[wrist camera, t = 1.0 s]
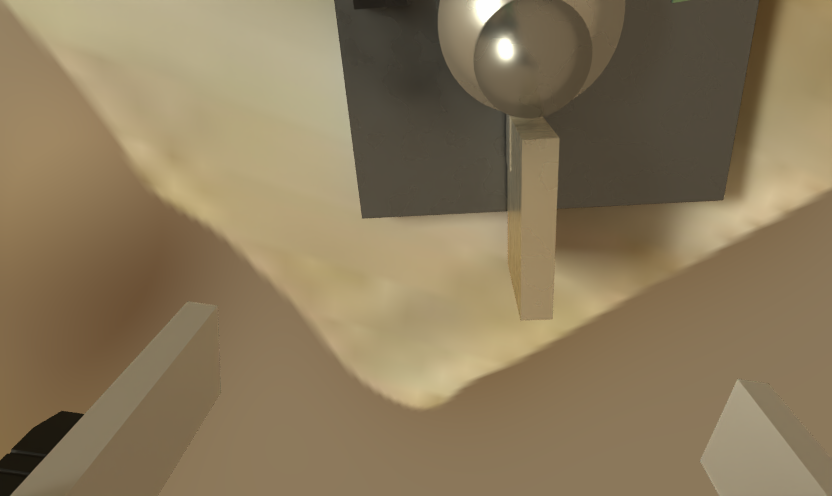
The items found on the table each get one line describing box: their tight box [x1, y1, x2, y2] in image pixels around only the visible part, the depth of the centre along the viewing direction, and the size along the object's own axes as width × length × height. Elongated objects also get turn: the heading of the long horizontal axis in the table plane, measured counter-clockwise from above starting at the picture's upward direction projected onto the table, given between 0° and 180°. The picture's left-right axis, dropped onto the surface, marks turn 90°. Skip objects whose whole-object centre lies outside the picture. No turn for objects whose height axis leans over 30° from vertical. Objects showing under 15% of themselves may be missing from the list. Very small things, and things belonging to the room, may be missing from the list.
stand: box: [334, 0, 759, 218], centre depth 26 cm, size 19×20×5 cm
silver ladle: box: [438, 0, 625, 320], centre depth 25 cm, size 17×8×6 cm, turn 4°
